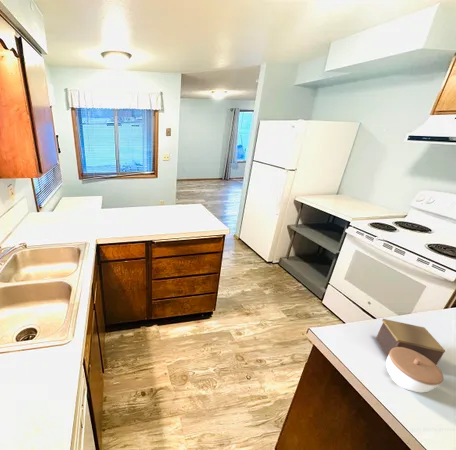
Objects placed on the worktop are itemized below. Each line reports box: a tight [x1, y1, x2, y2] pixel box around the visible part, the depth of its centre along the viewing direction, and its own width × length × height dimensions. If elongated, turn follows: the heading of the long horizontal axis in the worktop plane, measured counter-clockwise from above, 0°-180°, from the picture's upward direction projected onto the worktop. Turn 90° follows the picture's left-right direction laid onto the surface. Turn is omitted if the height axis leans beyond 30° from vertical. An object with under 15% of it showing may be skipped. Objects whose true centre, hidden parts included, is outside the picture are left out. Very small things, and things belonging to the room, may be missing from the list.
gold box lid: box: [381, 318, 446, 353], centre depth 76 cm, size 11×10×1 cm
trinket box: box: [385, 347, 444, 393], centre depth 69 cm, size 11×11×9 cm
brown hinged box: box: [375, 322, 445, 366], centre depth 78 cm, size 11×10×8 cm
